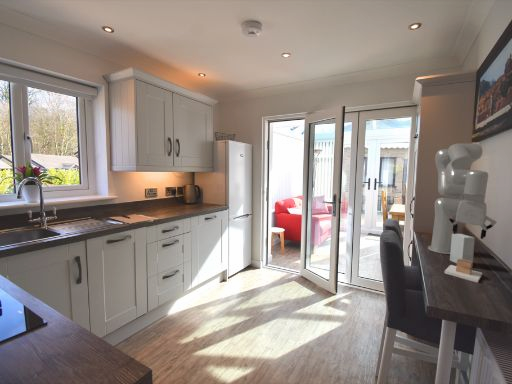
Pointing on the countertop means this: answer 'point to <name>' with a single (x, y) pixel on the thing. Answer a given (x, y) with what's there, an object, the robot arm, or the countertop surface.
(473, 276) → the chopping board
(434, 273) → the countertop surface
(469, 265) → the wooden cube
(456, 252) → the skincare box
